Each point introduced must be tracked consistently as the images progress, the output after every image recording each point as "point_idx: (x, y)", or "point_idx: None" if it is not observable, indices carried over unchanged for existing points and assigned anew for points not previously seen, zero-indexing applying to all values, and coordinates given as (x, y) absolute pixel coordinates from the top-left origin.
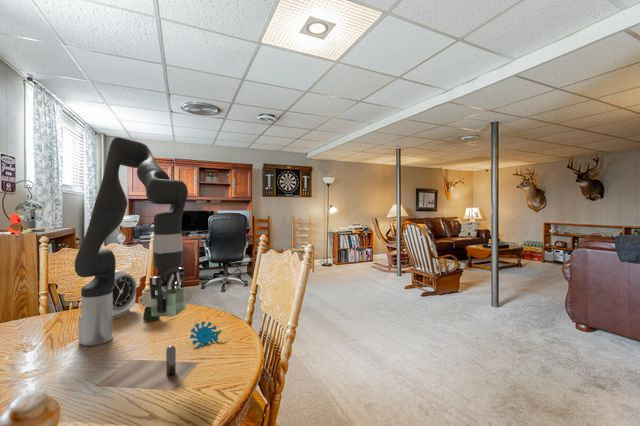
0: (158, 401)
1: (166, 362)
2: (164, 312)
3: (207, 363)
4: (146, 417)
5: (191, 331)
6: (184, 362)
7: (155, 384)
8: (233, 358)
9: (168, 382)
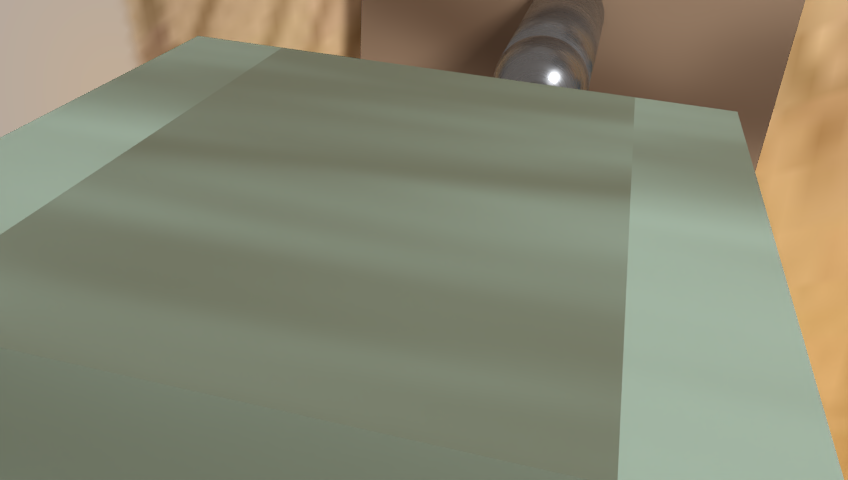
0: (293, 43)
1: (525, 17)
2: None
3: (793, 224)
4: (155, 42)
5: None
6: (778, 56)
7: None
8: (843, 395)
9: (445, 48)
